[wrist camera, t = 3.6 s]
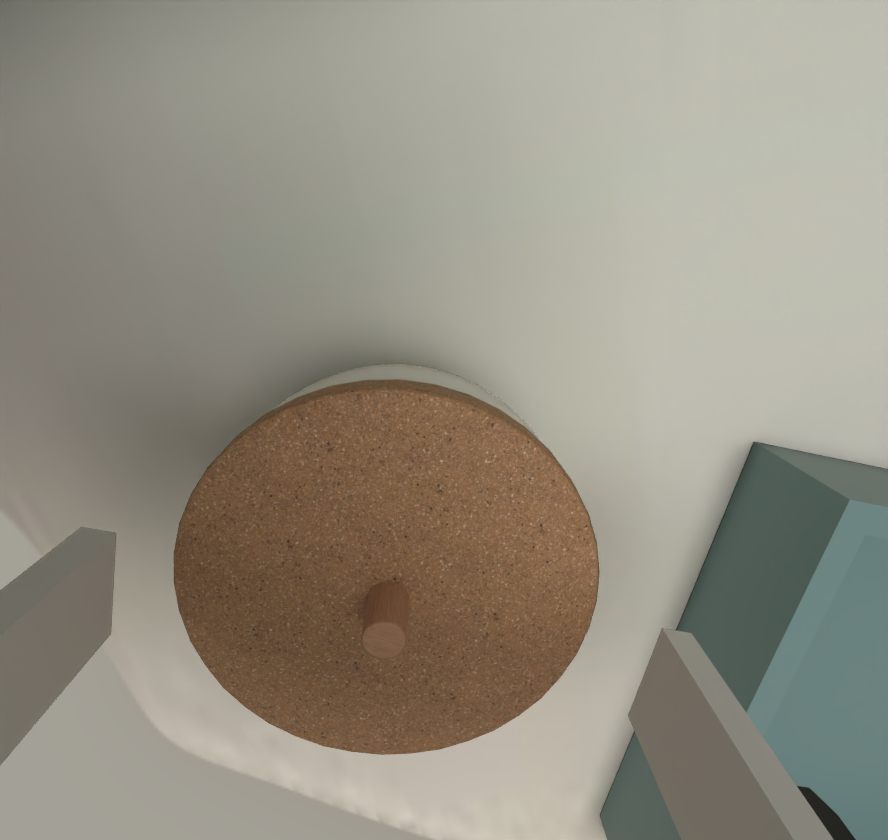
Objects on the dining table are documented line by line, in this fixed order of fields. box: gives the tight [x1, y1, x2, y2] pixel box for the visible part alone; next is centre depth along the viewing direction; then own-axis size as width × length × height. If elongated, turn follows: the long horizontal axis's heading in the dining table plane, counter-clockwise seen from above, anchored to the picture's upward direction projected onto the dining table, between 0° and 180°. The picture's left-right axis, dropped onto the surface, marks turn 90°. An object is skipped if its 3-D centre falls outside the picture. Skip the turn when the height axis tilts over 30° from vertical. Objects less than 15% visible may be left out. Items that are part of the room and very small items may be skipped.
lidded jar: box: [174, 364, 599, 755], centre depth 17 cm, size 11×11×9 cm
